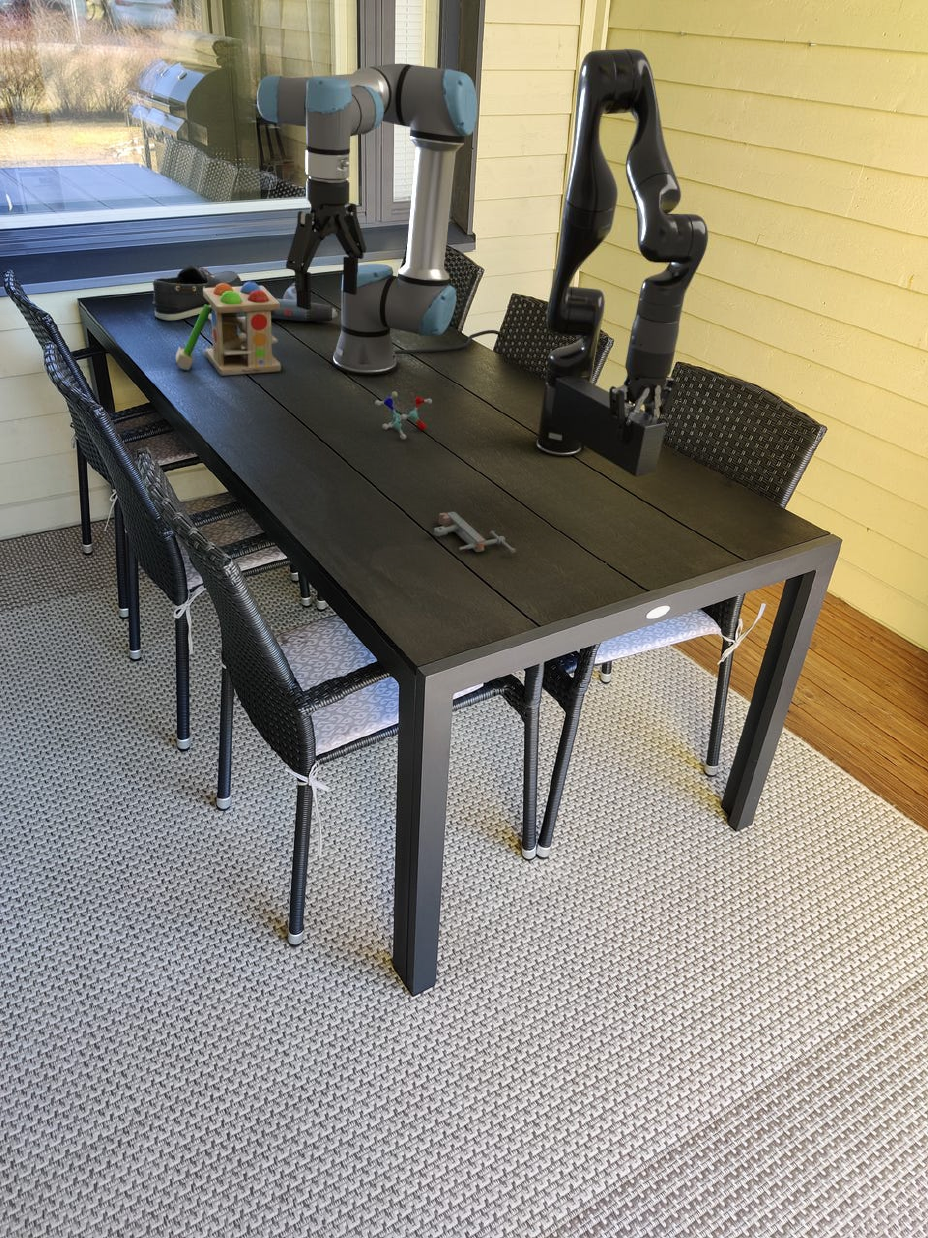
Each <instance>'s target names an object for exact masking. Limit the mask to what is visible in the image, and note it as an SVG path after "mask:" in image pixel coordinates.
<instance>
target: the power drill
mask: <svg viewBox="0 0 928 1238" xmlns="http://www.w3.org/2000/svg"><path fill="white" fill-rule="evenodd" d="M275 299H276V300H277V301H278V302H279V303H280V310H271V319H274V320H275V319H276V320H283V321H294V322H295V321H297V322H332V321H333V320H334V319H336V318H337V317H338V312H337V311H336V308H334V307H333V306H332V305H331V304H324V303H317V302H313V301H311V309H310V310H306V309H303V308H299V307H297V292H296V289H295V282H293V283H292V284H291V285H290V286H289V287H288V288H287V289H286V291H285V292H284V294H283V297H282V298H275Z"/></svg>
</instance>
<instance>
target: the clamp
mask: <svg viewBox="0 0 928 1238" xmlns="http://www.w3.org/2000/svg"><path fill="white" fill-rule="evenodd" d="M438 525H441V526H438V527H434V528H433V534H434V535H435V536H436V537H443V536H447V535H448V533H453V532H454V533H455V534H457V536H458V537H460V539H462V540H463V541H464V542H465V543H466V545H464V546H460V547H459V548H458V549H459V551H465V550H471V549H472V550H474V552H476V553H482V552H484V551H485V546H490V545H495V544H496V545H503V546H504V547H505V548H507V549H508V550H509V551H510V554H511V555H512V554H515V553H516V548H515V547H512V546H510V545H509V543H507V542H506V538H505V536H504V535H500V536H499V535H498V534H496V532H495V530H491V531H490V532H489V536H492V537H494V538H493V539H488V540H486V539H485V537H483V536H482V535H481V534H480V533H478V532H477V531H476V530H475V529H474V528H473V527H472V526H471V525H470V524H468V522H466V521H465V520H464V519H463V518H462V517H461V516H460V515H459V514H458V513H457V512H455V511H449V512H440V513H439V514H438Z"/></svg>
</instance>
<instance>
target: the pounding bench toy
mask: <svg viewBox="0 0 928 1238" xmlns="http://www.w3.org/2000/svg"><path fill="white" fill-rule="evenodd" d="M203 296H204V297H205V299H206V300H207V301H208V302H209V304H210V305H211V307H210V306H208V305H204V307H203V309H202V311H201V313H200V314H199V316H198V318H197V320H196V322H195V324H194V327H193V329H192V331H191V332H190V333H191V334H190V336H189V338H188V340H187V343H186V344H185V347H184V348H182V347H180V346H179V347H178V349H177V351H176V354H175V357H174V358H175V362H176V365H177V366H178V368H179V369H182V370H185V371H189V370H190V369H191V367H192V365H193V363H194V356H193V351H194V348H195V347H196V345H197V342H198V340H199V337H200V336H201V333H202V332H203V329H204V326H205V325H206V322H207V320H209V321H210V322H211V336H212V337H211V338H212V339H211V340H212V348H205V349H204V352H205V353H204V355H205V357H206V359H208V361H209V363H210V364H211V365H212V366H213V367H214V369H215V370H216V371H217V372H218V374H219V375H220V376H222V377H223V376H234V375H235V376H236V375H246V374H247V375H250V374H262V373H275V372H281V370H282V364H281V363H280V362H279V360H278V359H277V358H276V357H275V356H274V355H273V348H272V347H273V345H272V344H276V343H278V342H279V341H278V339H277V338H276V337H275V336H274V334H272V318H271V310H280V303H279V302H278V301H277V300H276V299H277V298H276V297H274V296H273V295H272V294H271V293H270V292H269V290H268V289H267V288H266V287H264V285H259V284H257V283H256V282H255V281H247V282H245V283H244V284H242V287H231V286H230V285H228V284H226V283H221V284H218V285H217V286H216V287H215V288H204V289H203ZM238 313H244V314H245V315H244V316H238ZM238 329H239V331H240V333H239V334H238Z"/></svg>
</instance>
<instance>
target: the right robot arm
mask: <svg viewBox="0 0 928 1238" xmlns="http://www.w3.org/2000/svg"><path fill="white" fill-rule="evenodd" d="M655 85H656V84H655V80H654V75H653V70H652V67H651V63H650V61H649V59H648V57H647V55H646V54H645V53H644V52H643V51H642V50H641V49H634V48H623V49H621V48H619V49H597V50H591V51H589V52H587V53H586V54H585V56H584V57H583V60H582V62H581V65H580V68H579V73H578V79H577V88H576V90H577V91H576V105H575V117H574V134H573V141H572V142H573V144H572V153H571V159H570V167H569V172H568V178H567V185H566V190H565V196H564V202H563V209H562V218H561V226H560V236H559V244H558V251H557V259H556V263H555V269H554V274H553V278H552V285H551V289H550V293H549V299H548V303H547V310H546V327H547V330H548V331H549V333H550V334H554V335H559V336H566V337H574V338H575V337H576V338H580V339H578V340H577V341H576V342H574V343H571V344H568V345H566V346H561V347H558V348H554V349H553V350H552V351H550V352H549V355H548V359H547V367H546V375H545V381H544V388H543V389H544V390H543V397H542V403H541V410H540V412H541V413H540V419H539V425H538V432H537V439H536V444H535V445H536V448H538V449H539V450H540V451H541V452H543V453H546V454H548V455H551V456H557V457H572V456H575V455H577V454H579V453H580V452H581V451H585V446H584V445H582V444H580V443H579V442H577V441H576V440H574V439H572V438H571V437H569V436H567V435H566V434H564V433H562V432H561V431H559V430H557V429H556V428H554V427H552V426H551V425H550V421H551V414H552V407H553V399H554V392H555V385H556V379H557V378H562V377H567V376H573V375H578V376H580V377H582V378H584V379H585V380H587V381H589V382H591V383H592V380H593V372H594V368H595V367H594V366H595V359H596V353H597V347H598V342H599V337H600V333H601V328H602V324H603V320H604V315H605V309H606V308H605V307H606V300H605V295H604V292H603V290H601V289H597V288H589V287H581V286H580V287H579V286H571V283H572V281H573V279H574V277H575V275H576V274H577V272H578V271H579V269H580V268H581V266H582V265H583V264H584V263H585V261H586V260H587V259H588V258H589V257H590V256H591V255H592V254H593V253H594V252H596V250H597V249H598V248H599V247H600V246H601V245H602V243H604V241H605V240H606V238H607V237H608V236H609V234H610V232H611V230H612V228H613V225H614V220H615V219H614V218H615V214H616V209H617V204H618V196H619V191H618V184H617V181H616V178H615V176H614V173H613V171H612V169H611V167H610V164H609V163H608V161H607V158H606V156H605V153H604V150H603V147H602V144H601V139H600V127H601V122H602V121H601V120H602V117H603V115H616V114H628V113H629V114H631V115H632V117H633V120H634V121H635V130H634V134H633V137H632V140H631V143H630V145H629V148H628V151H627V154H626V159H625V175H626V179H627V182H628V183H627V184H628V187H629V188H630V191H631V194H632V197H633V200H634V203H635V206H636V207H635V208H636V223H637V247H638V250H639V253H640V254H641V256H642V257H643V258H644V259H645V260H646V261H648V262H650V263H655V264H668V265H667V266H666V268H665V269H664V270H663V271H660V272H659V273H656V274H653V275H650V276H647V277H645V279H644V280H643V281H642V283H641V286H640V290H639V296H638V302H637V307H636V312H635V315H634V316H635V317H634V320H633V323H632V326H631V331H630V337H629V341H628V348H627V353H626V358H625V364H624V368H625V370H626V377H625V378H624V381H623V384H622V385H620V386H618V387H617V386H615V385H614V386H613V385H612V386H610V388H609V390H608V392H609V402H610V418H612V419H613V420H615V421H617V422H618V428H617V434H616V439H617V442H619V443H620V444H622V445H627V444H628V441H629V435H630V430H631V425H630V424H631V423H632V421H633V419H634V416H635V414H636V413H638V412H639V411H640V409H641V408H642V407H643V408H644V411H645V412H647V413H649V414H650V415H652V416H654V417H656V418H658V419H660V416H661V415H666V414H668V411H669V409H670V406H671V403H672V401H673V400H674V399H673V398H674V396H675V394H676V391H677V388H678V385H679V381H678V380H676V379H674V378H673V377H670V374H671V372H672V367H673V362H674V358H675V353H676V348H677V342H678V338H679V332H680V322H681V317H682V316H681V315H682V311H683V306H684V302H685V298H686V297H685V296H686V293H687V291H688V289H689V287H690V285H691V283H692V282H693V279H694V278H695V277H694V276H695V274H696V273H697V270H698V268H699V266H700V264H701V262H702V260H703V258H704V256H705V253H706V251H707V248H708V244H709V229H708V226H707V223H706V221H705V220H704V218H703V217H701V216H700V215H698V214H695V213H671V212H673V211H675V210H676V208H677V207H678V206H679V204H680V202H681V199H682V190H681V186H680V183H679V181H678V177H677V175H676V172H675V170H674V166H673V164H672V161H671V159H670V155H669V152H668V149H667V146H666V141H665V137H664V131H663V125H662V120H661V114H660V113H661V112H660V107H659V100H658V95H657V90H656V86H655ZM663 401H664V402H663ZM662 402H663V404H662ZM629 403H630V404H632V405H634V406H632V405H630V404H629ZM627 410H629V413H628V416H625V415H626V413H627ZM641 410H642V409H641Z"/></svg>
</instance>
